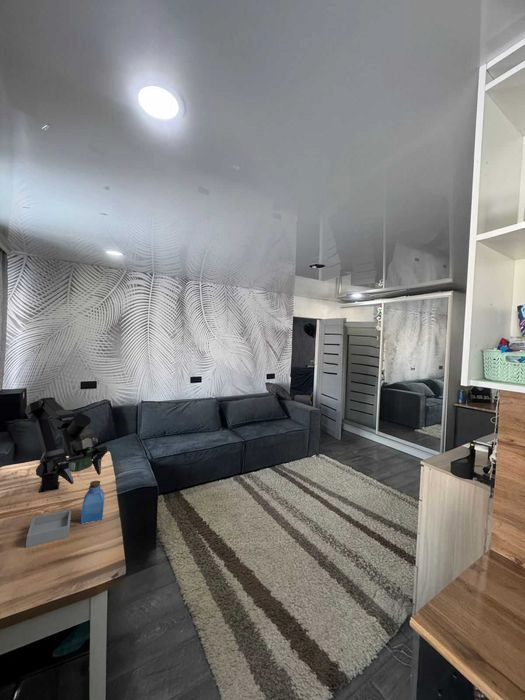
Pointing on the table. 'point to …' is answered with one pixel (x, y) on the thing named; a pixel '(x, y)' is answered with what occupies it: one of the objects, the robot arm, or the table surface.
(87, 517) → the perfume bottle
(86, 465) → the coffee jar
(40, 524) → the tray
